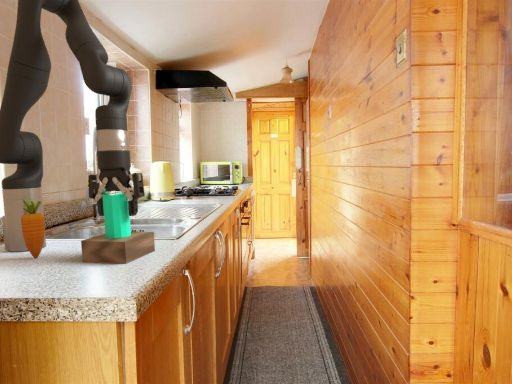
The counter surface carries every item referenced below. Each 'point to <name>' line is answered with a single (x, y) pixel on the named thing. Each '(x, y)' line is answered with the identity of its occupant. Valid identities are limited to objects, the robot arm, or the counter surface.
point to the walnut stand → (117, 248)
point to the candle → (116, 216)
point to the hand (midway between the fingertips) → (117, 215)
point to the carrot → (33, 228)
